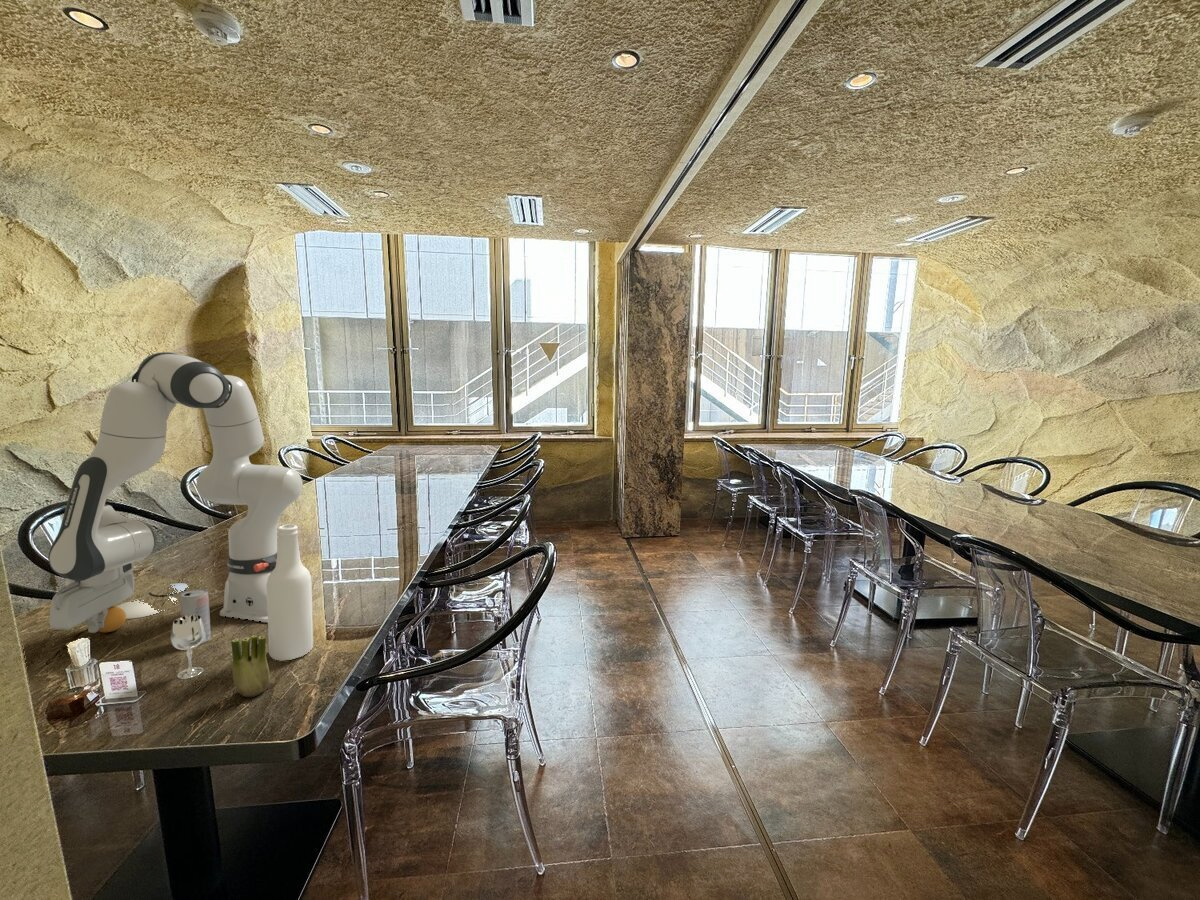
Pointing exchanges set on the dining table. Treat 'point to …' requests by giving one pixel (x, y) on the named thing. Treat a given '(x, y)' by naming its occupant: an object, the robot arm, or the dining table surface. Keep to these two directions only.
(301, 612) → the white bottle
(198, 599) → the energy drink
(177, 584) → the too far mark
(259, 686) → the fennel bulb
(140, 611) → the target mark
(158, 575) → the dining table surface
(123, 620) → the ball
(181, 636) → the wineglass
